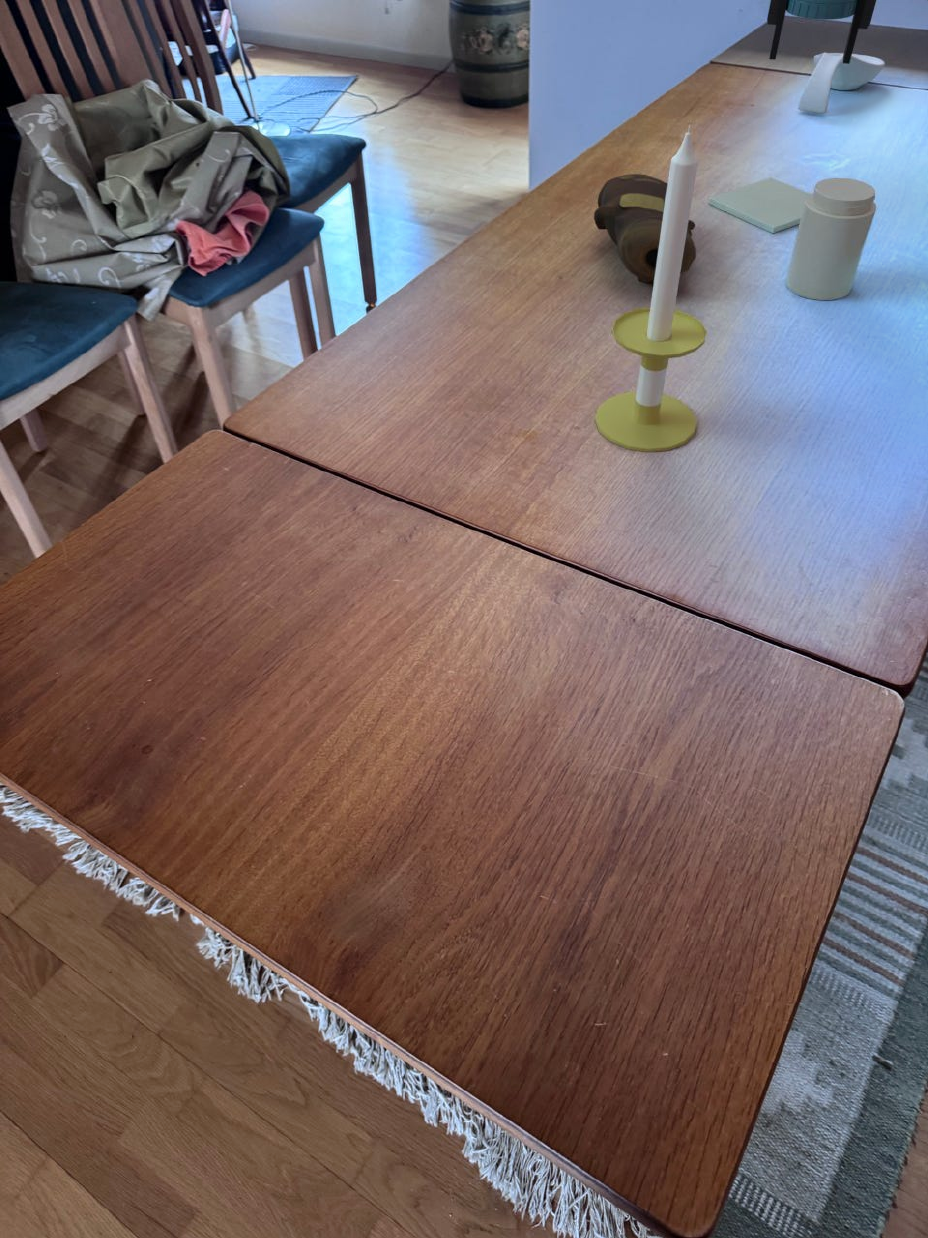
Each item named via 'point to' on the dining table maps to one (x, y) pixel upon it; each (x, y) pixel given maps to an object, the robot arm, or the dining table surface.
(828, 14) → the lid
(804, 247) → the jar
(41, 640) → the dining table surface
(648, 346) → the candle
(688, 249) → the pottery vessel
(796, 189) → the tile
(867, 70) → the spoon rest
